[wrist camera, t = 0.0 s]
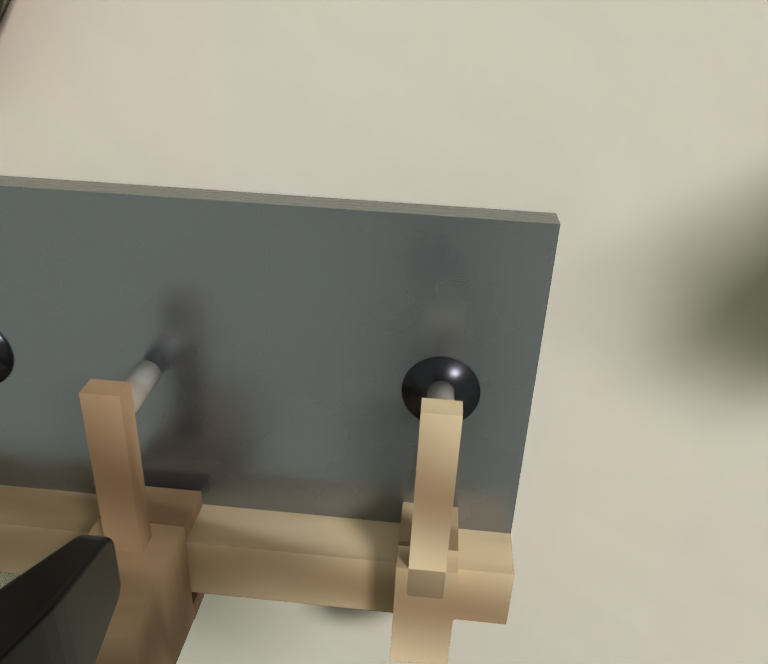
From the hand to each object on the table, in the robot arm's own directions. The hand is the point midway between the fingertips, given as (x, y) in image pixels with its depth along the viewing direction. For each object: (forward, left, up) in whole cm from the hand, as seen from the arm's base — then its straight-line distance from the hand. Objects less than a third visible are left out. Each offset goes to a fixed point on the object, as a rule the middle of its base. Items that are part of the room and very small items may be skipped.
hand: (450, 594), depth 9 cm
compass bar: (-9, +8, -14) cm, 18 cm away
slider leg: (-9, +10, -13) cm, 19 cm away
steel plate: (-7, +8, -15) cm, 18 cm away
